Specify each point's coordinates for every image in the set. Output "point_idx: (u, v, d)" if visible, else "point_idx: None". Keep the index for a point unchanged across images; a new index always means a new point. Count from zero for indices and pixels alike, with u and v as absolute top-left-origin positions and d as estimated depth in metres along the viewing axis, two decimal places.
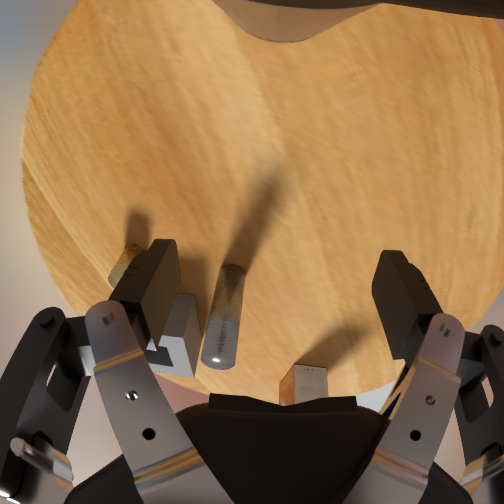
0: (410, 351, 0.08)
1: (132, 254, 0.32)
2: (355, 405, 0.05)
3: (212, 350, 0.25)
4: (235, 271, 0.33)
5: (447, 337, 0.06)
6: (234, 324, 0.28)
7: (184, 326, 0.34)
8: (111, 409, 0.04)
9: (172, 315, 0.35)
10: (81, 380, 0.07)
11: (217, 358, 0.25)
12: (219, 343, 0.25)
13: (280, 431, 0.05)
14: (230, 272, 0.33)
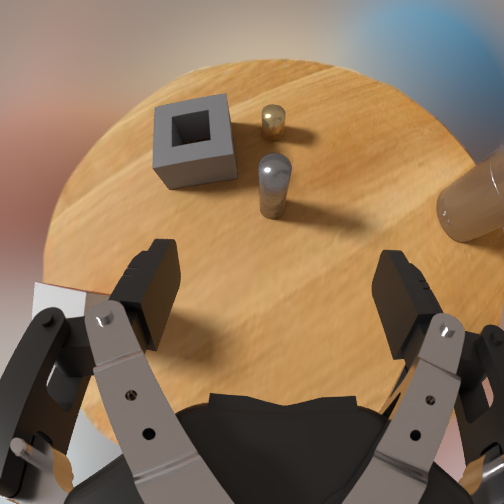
0: (410, 351, 0.08)
1: (283, 128, 0.40)
2: (355, 405, 0.05)
3: None
4: None
5: (447, 337, 0.06)
6: (285, 191, 0.31)
7: (234, 159, 0.35)
8: (111, 409, 0.04)
9: None
10: (81, 380, 0.07)
11: (280, 166, 0.28)
12: None
13: (280, 431, 0.05)
14: None
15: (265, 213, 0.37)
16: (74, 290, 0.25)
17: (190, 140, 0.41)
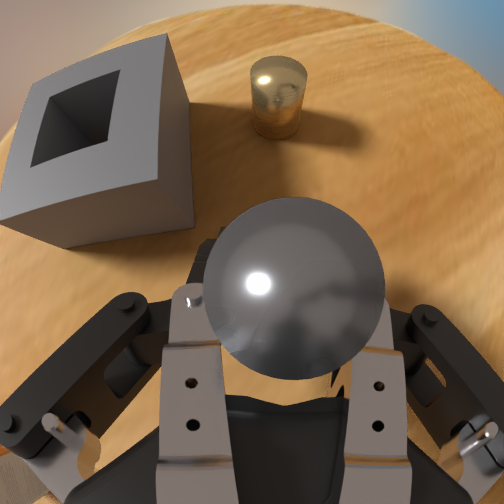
0: None
1: None
2: None
3: (374, 254, 0.05)
4: None
5: None
6: None
7: (169, 192, 0.12)
8: (166, 389, 0.05)
9: (177, 169, 0.14)
10: (146, 371, 0.08)
11: (329, 281, 0.05)
12: None
13: (280, 431, 0.05)
14: None
15: None
16: None
17: None
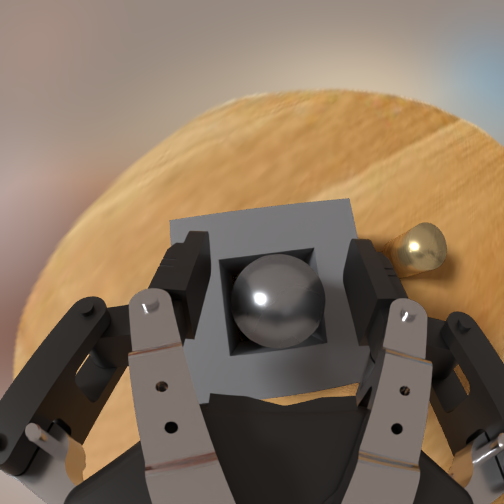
0: (373, 336, 0.08)
1: None
2: (355, 405, 0.05)
3: (321, 284, 0.10)
4: None
5: (406, 321, 0.07)
6: None
7: None
8: (138, 397, 0.05)
9: None
10: (114, 373, 0.08)
11: (295, 298, 0.10)
12: None
13: (280, 431, 0.05)
14: None
15: None
16: None
17: None
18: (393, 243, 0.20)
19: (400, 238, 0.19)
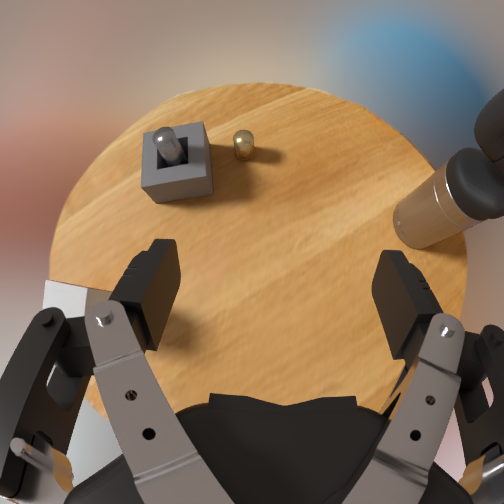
0: (410, 351, 0.08)
1: (253, 149, 0.47)
2: (355, 405, 0.05)
3: None
4: None
5: (447, 337, 0.06)
6: (177, 153, 0.40)
7: (208, 179, 0.42)
8: (111, 409, 0.04)
9: (208, 173, 0.44)
10: (81, 380, 0.07)
11: (167, 135, 0.37)
12: (175, 138, 0.38)
13: (280, 431, 0.05)
14: None
15: None
16: (78, 286, 0.32)
17: None
18: None
19: None
